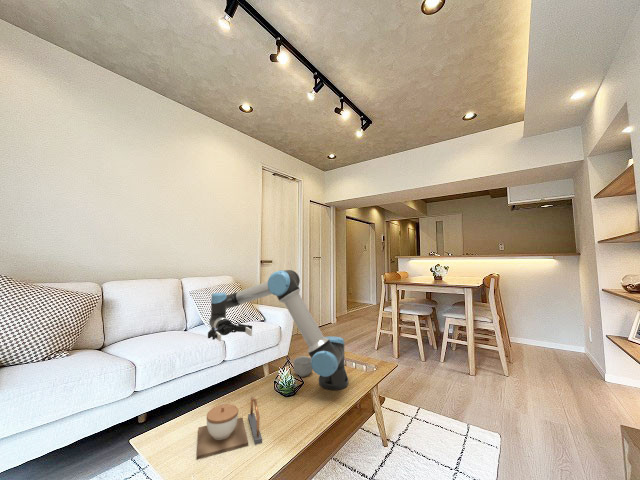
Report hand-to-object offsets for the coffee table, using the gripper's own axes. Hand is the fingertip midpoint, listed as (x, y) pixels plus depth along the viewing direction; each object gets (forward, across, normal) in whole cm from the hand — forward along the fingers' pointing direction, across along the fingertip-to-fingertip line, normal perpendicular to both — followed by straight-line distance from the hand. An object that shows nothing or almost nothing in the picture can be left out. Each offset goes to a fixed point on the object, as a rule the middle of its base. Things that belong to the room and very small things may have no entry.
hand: (236, 335), depth 117 cm
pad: (+17, +10, -30) cm, 36 cm away
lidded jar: (+17, +10, -30) cm, 35 cm away
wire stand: (+19, -1, -30) cm, 36 cm away
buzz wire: (+19, -1, -29) cm, 35 cm away
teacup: (-13, -42, -31) cm, 54 cm away
